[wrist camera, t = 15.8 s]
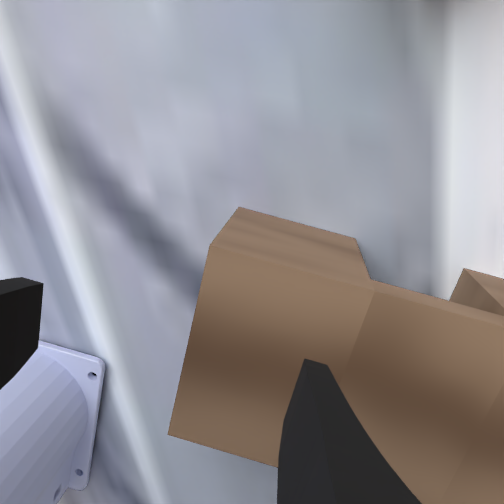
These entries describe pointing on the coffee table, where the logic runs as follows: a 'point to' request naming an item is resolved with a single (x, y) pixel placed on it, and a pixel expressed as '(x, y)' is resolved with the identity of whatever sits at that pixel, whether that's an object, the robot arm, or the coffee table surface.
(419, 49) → the coffee table surface
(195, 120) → the coffee table surface
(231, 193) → the coffee table surface
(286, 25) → the coffee table surface
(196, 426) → the brown notched block
